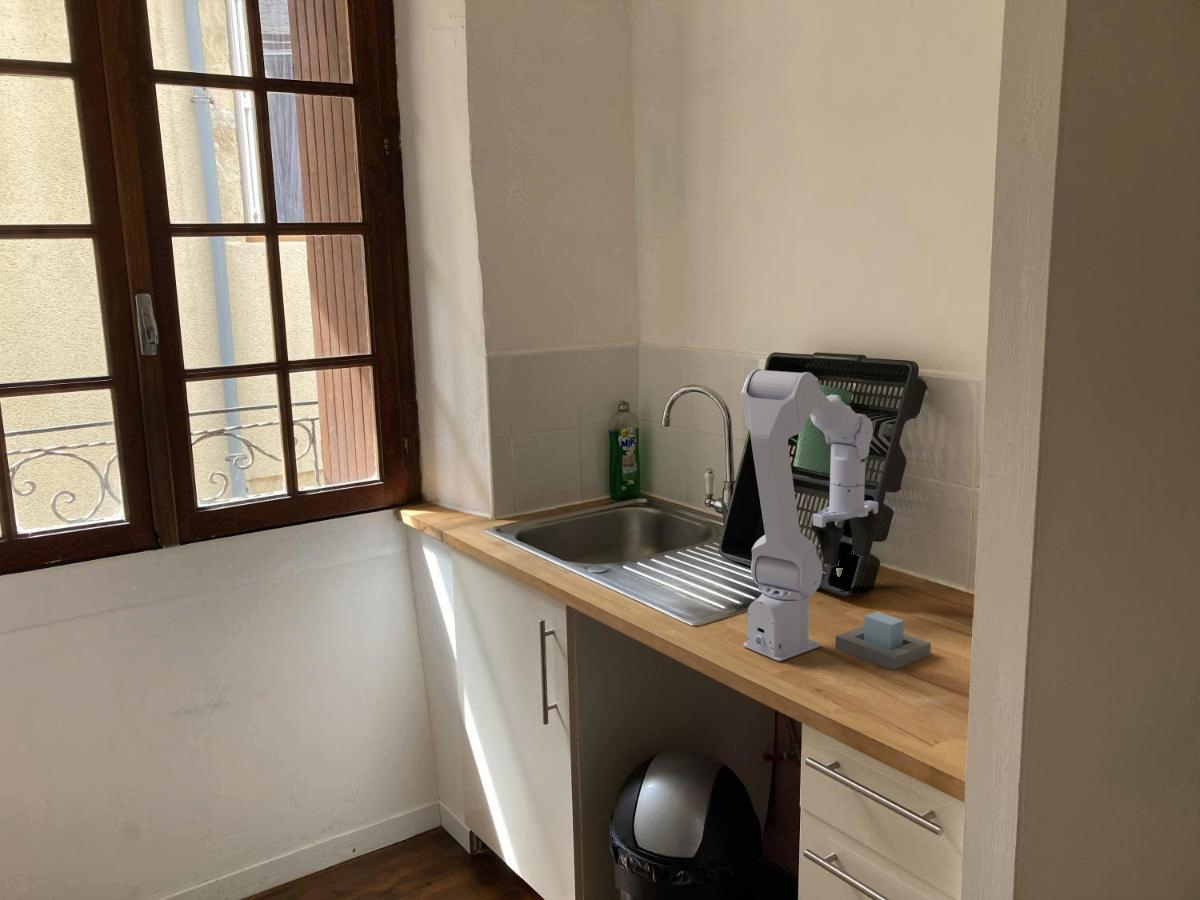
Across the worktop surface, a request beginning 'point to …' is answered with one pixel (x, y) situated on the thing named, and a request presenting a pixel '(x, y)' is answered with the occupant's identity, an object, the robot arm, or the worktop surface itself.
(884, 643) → the block
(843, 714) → the worktop surface
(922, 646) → the grey slotted base
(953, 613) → the worktop surface
